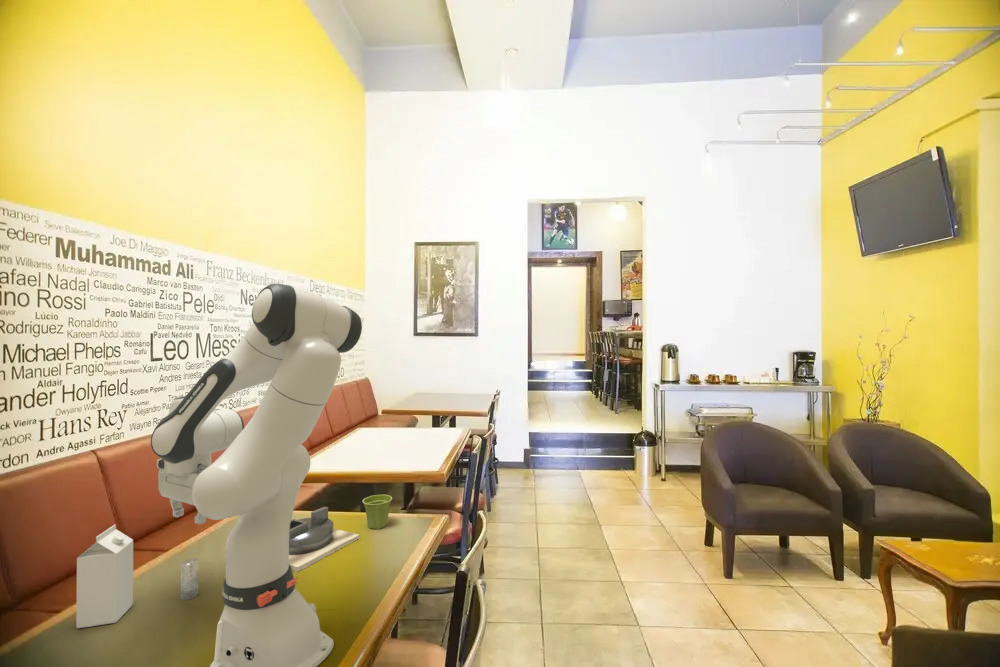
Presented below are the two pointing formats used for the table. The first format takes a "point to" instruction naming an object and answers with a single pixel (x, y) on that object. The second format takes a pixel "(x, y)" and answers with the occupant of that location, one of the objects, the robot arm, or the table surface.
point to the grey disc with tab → (310, 532)
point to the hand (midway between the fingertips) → (189, 519)
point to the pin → (189, 579)
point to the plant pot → (377, 510)
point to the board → (322, 550)
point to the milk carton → (105, 579)
